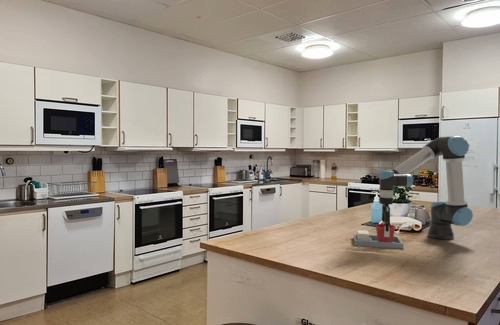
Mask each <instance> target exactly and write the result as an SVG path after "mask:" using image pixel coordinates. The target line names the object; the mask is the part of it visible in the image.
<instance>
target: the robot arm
mask: <svg viewBox="0 0 500 325" xmlns="http://www.w3.org/2000/svg"><path fill="white" fill-rule="evenodd" d="M469 148H470V147H469V143H468V140H467V139H466V138H464V137H462V136H460V135H451V136H440V137H437V138H435V139H433V140H431V141H430V142H428V143H426V144H425V145H423V146H422V148H421V149H420V150H419V151H418V152H416V153H415V154H413V155H412V156H410V157H409V158H408V159H406V160H404V161H403V162H401V163H400V164H399V165H397V166H395V167H394V168H393V169H391V170H381V171H380V172H379V191H378V193H379V202H378V203H379V204H380V205H382V206H381V211H382V212H381V221H382V222H381V224H384V237H389V231H390V225H391V206H390V205H394V198H393V197H394V188H397V187H398V188H407V187H409V188H410V187H412V186H413V184H414V177H413V175H412V174H410V173H411V172H413V171H414V170H416V169H417V168H419V167H420V166H422V165H423V164H425V163H426V162H428V161H429V160H433V159H435V158H437V157H441V156H442V160H443V161H445V167H446V168H445V170H446V185H447V201H433V202H431V205H430V225H429V227H428V228H429V229H428V231H427V237H429V238H432V239H438V240H446V241H447V240H449V241H450V240H454V239H455V233H454V231H453V229H452V225H454V226H457V227H459V226H460V227H464V226H465V227H466V226H468V225H469V224H470V223H471V222H472V220H473V217H474V215H473V211H472V210H471V209H470V208H469V206H468V202H467V201H466V200H465V192H464V190H465V189H464V172H463V161H464V159H466V158H465V157H466V156H465V155H466V154H468V151H469Z"/></svg>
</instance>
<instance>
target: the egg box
mask: <svg viewBox="0 0 500 325" xmlns="http://www.w3.org/2000/svg"><path fill="white" fill-rule="evenodd" d="M356 234H357V240H359V241H369V235H370V233H369V231H368V230H360V229H358V230H357V232H356Z"/></svg>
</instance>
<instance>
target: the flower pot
mask: <svg viewBox="0 0 500 325" xmlns="http://www.w3.org/2000/svg"><path fill="white" fill-rule="evenodd" d="M375 230H376V235H377V238H378V242H389V243H392V241H393V236H394V234H395V230H396V226H395V225H392V224H390V231H389V237H384V224H382V223H377V224H375Z"/></svg>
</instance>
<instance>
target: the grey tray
mask: <svg viewBox="0 0 500 325" xmlns="http://www.w3.org/2000/svg"><path fill="white" fill-rule="evenodd" d="M353 242H354V246H357V247H358V246H359V247H373V248H375V247H376V248H385V249H386V248H388V249H401V250H402V251H404V242H403V241H402V239H401V238H400V237H399V236H393V241H392V243H389V242H378V238H377V234H369V241H359V240H357V233H353Z"/></svg>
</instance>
